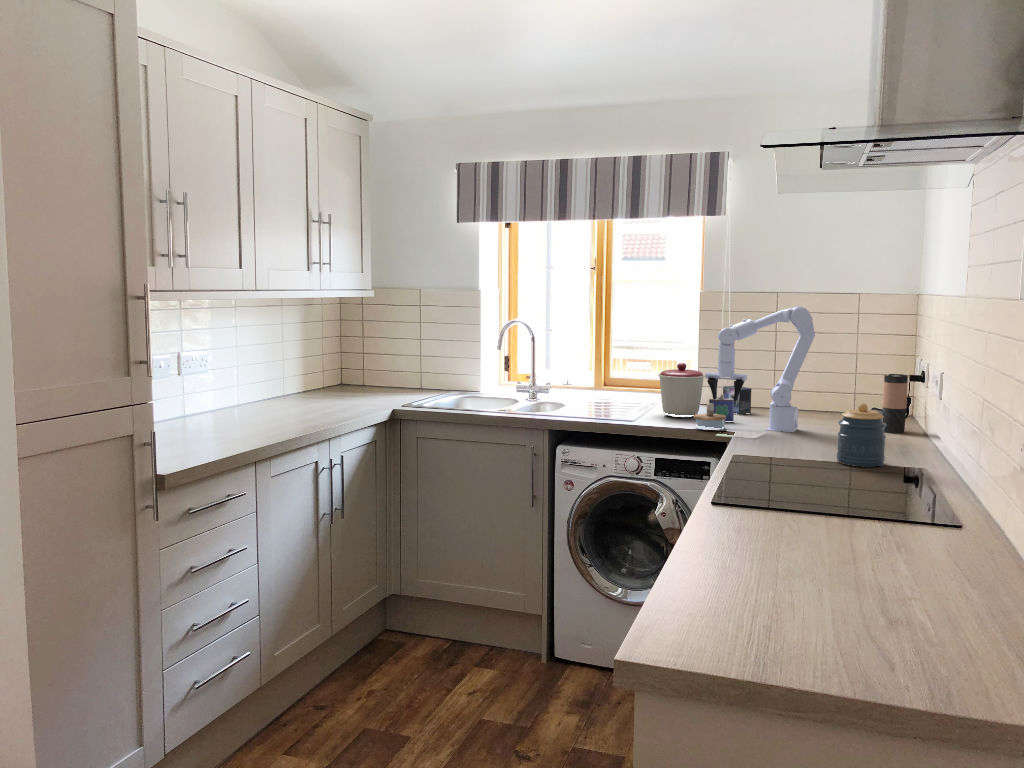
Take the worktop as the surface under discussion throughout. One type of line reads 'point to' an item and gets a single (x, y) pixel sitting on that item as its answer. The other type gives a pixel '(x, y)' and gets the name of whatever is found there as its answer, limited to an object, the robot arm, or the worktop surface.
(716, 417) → the lid
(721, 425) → the bowl
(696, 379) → the canister
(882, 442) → the canister
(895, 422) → the travel mug
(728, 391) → the small box
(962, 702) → the worktop surface
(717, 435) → the mat
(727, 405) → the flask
